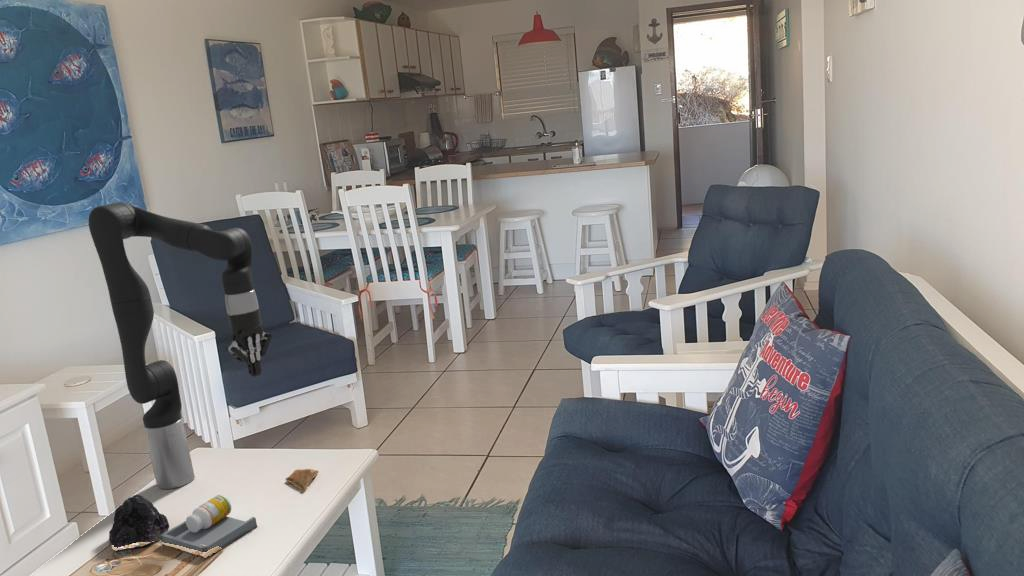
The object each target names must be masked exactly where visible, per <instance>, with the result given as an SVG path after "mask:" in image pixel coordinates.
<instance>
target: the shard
mask: <svg viewBox="0 0 1024 576" xmlns="http://www.w3.org/2000/svg"><path fill="white" fill-rule="evenodd" d="M317 473H318V474H319V470H318V469H317V470H316V469H314V468H313V469H312V468H310V469H309V468H306V469H295V470H293V471H292V473H290V474H289V476H288V477H286V478H285V481H286V482H287V483H290V484H292V485H293V486H294V487H295V488H297V489H298V490H299V489H300V491H302V492H307V489H308V488H309V486H310V484H311V483H312V481H313V480H314V479H315V478H316V477H317V476H318V474H317ZM315 476H316V477H315ZM314 477H315V478H314ZM313 478H314V479H313ZM312 479H313V480H312ZM310 482H311V483H310ZM308 485H309V486H308ZM307 487H308V488H307Z"/></svg>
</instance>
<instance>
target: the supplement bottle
mask: <svg viewBox="0 0 1024 576" xmlns="http://www.w3.org/2000/svg"><path fill="white" fill-rule="evenodd" d="M231 512H232V504H231V501H230V500H229V499H228V498H227V497H226V496H225V495H224V494H216V495H214V496H213V497H211V498H210V499H208V500H206V502H204V503H202V504H200V505H199V506H197V507H196V508H195V509H194V510H193V511H192V513H191V514H190V515H188V516H187V517H186V519H185V521H186V526H187V528H188V529H189V530H190V531H191V532H198V531H199V530H201V529H207V528H209V527H211V526H212V525H214V524H215V523H217V522H218V521H220V520H221V519H223V518H224V517H226V516H227V517H228V515H230V514H231Z"/></svg>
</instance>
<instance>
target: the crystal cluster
mask: <svg viewBox="0 0 1024 576" xmlns="http://www.w3.org/2000/svg"><path fill="white" fill-rule="evenodd" d="M114 511H115V512H114V517H113V523H112V526H111V529H110V530H109V536H108V541H109V546H110V545H114V547H117V548H118V547H121V546H125V545H129V544H132V543H136V542H152V541H157V542H159V541H160V540H161V536H160V535H161V534H163V533H165V532H167V531H168V530H170V524H169V520H168V518H167V516H165V514H163V513H160V512H159V510H158V509H157V507H155V506H154V503H153V502H152V501H150V500H148V499H147V498H145V497H144V496H142V495H140V494H136V495H135V494H134V495H132V496H130V497H128V498H127V499H125V500H124V501H123V502H122V503H121V504H120V505H119V506H118V507H116V509H115V510H114Z"/></svg>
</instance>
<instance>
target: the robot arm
mask: <svg viewBox="0 0 1024 576" xmlns="http://www.w3.org/2000/svg"><path fill="white" fill-rule="evenodd" d="M88 228H89V232H90V233H89V234H90V236H91V239H92V241H93V244H94V247H95V250H96V252H97V256H98V258H99V261H100V264H101V267H102V272H103V275H104V279H105V282H106V285H107V290H108V295H109V300H110V304H111V309H112V313H113V316H114V320H115V324H116V328H117V332H118V338H119V340H120V345H121V351H122V360H123V366H124V367H123V369H124V374H125V380H126V381H125V382H126V386H127V389H128V392H129V395H130V396H131V397H132V399H133V401H135V403H138V404H139V405H140V404H141V405H143V404H146V403H150V402H153V401H154V403H153V404H152V406H151V407H150V408H149V409H148V410H147V411H146V412H145V413H144V414H143V416H142V421H143V427H144V430H145V434H146V438H147V443H148V447H149V448H148V449H149V451H148V453H149V457H150V462H151V466H152V470H153V474H154V479H155V483H156V484H157V487H158V488H159V489H160V490H161V489H162V490H170V489H176V488H179V487H182V486H185V485H187V484H190V483H192V481H193V480H194V479H195V477H196V476H195V473H194V468H193V463H192V459H191V458H192V457H191V453H190V448H189V444H188V440H187V439H188V438H187V435H186V430H185V425H184V422H183V417H182V399H181V393H180V387H179V382H178V376H177V373H176V370H175V368H174V367H173V365H172V364H171V363H170V362H169V361H166V360H162V359H161V360H156V361H154V362H151V363H148V364H147V362H146V352H145V351H146V345H147V344H146V343H147V339H148V338H149V337H148V336H149V333H150V330H151V328H152V325H153V321H154V317H155V316H154V315H155V313H154V312H155V311H154V310H155V309H154V307H153V302H152V297H151V292H150V290H149V287H148V285H147V283H146V282H145V281H144V279H143V278H142V277H141V275H140V274H139V273H138V272H137V271H136V270H135V268H134V267H133V266H132V263H131V262H130V261H129V259H128V256H127V253H126V249H125V243H124V240H126V239H129V238H131V237H143V238H151V239H152V238H153V239H156V240H159V241H160V242H162V243H164V244H166V245H167V246H170V247H173V248H175V249H180V250H184V251H189V252H195V253H199V254H201V255H203V256H205V257H208V258H211V259H213V260H217V261H223V262H224V261H227V267H226V268H225V269H224V270H223V271H222V273H221V281H222V286H223V292H224V301H225V308H226V314H227V317H228V318H227V319H228V323H229V329H230V330H231V332H232V342H231V344H230V346H226V350H225V351H226V352H228V354H230V356H232V357H233V358H234V359H235V360H237V361H238V362H240V363H246V365H247V370H248V374H249V375H250V376H251V377H254V378H255V377H258V376H261V374H262V364H261V361H260V360H261V358H262V357H264V356H266V354H267V351H268V348H269V345H270V342H271V339H272V336H273V335H272V333H267V332H265V331H264V329H263V327H262V326H261V325H262V324H263V322H262V321H263V320H262V318H261V311H260V307H259V302H258V297H257V294H256V293H257V292H256V291H255V287H254V286H255V285H254V282H253V281H254V280H253V276H252V275H253V274H252V266H253V265H252V264H253V263H252V262H253V261H252V260H253V245H252V241H251V238H250V235H249V234H248V233H247V232H246V230H244V229H242V228H240V227H232V228H229V229H226V230H222V231H220V230H219V231H217V230H213V229H212V228H211V227H209V226H208V225H206V224H203V223H198V222H193V221H188V220H182V219H177V218H171V217H167V216H163V215H160V214H157V213H154V212H151V211H147V210H146V209H143V208H140V207H138V206H135V205H133V204H129V203H126V202H115V203H114V202H113V203H109V204H104V205H99V206H96V207H94V208H93V209H91V211H90V213H89V216H88Z"/></svg>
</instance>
